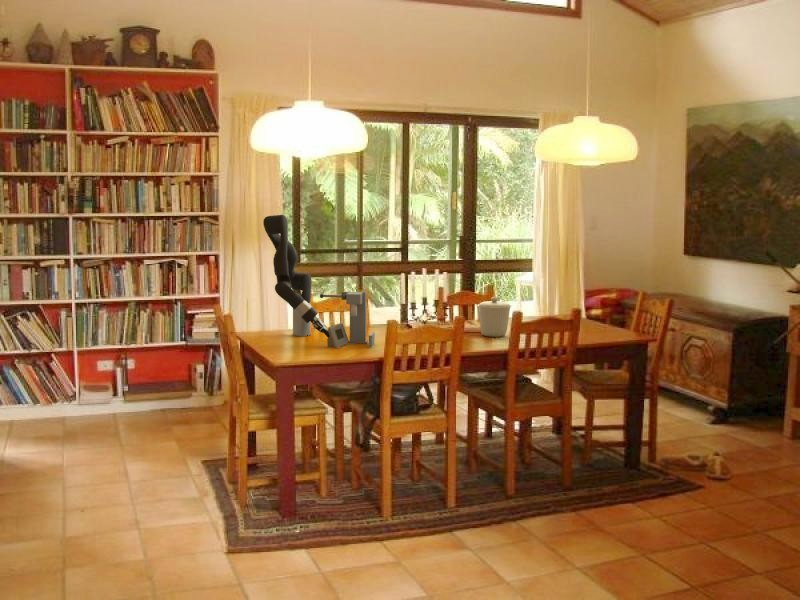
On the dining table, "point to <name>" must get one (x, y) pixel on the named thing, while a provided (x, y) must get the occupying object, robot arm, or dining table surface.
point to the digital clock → (337, 336)
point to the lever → (333, 296)
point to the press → (358, 318)
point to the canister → (494, 317)
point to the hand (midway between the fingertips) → (330, 336)
